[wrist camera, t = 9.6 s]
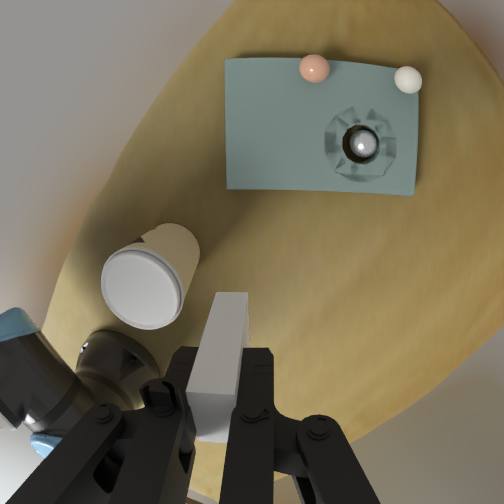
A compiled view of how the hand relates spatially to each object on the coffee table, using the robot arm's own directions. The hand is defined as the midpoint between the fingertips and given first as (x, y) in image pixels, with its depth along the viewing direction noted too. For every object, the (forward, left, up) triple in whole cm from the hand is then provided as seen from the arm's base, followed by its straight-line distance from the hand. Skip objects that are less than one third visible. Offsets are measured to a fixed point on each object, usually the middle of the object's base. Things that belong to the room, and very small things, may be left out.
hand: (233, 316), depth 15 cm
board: (+7, +10, -25) cm, 27 cm away
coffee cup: (-12, -6, -25) cm, 28 cm away
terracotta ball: (+6, +16, -21) cm, 26 cm away
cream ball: (+16, +16, -21) cm, 31 cm away
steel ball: (+12, +8, -23) cm, 27 cm away
